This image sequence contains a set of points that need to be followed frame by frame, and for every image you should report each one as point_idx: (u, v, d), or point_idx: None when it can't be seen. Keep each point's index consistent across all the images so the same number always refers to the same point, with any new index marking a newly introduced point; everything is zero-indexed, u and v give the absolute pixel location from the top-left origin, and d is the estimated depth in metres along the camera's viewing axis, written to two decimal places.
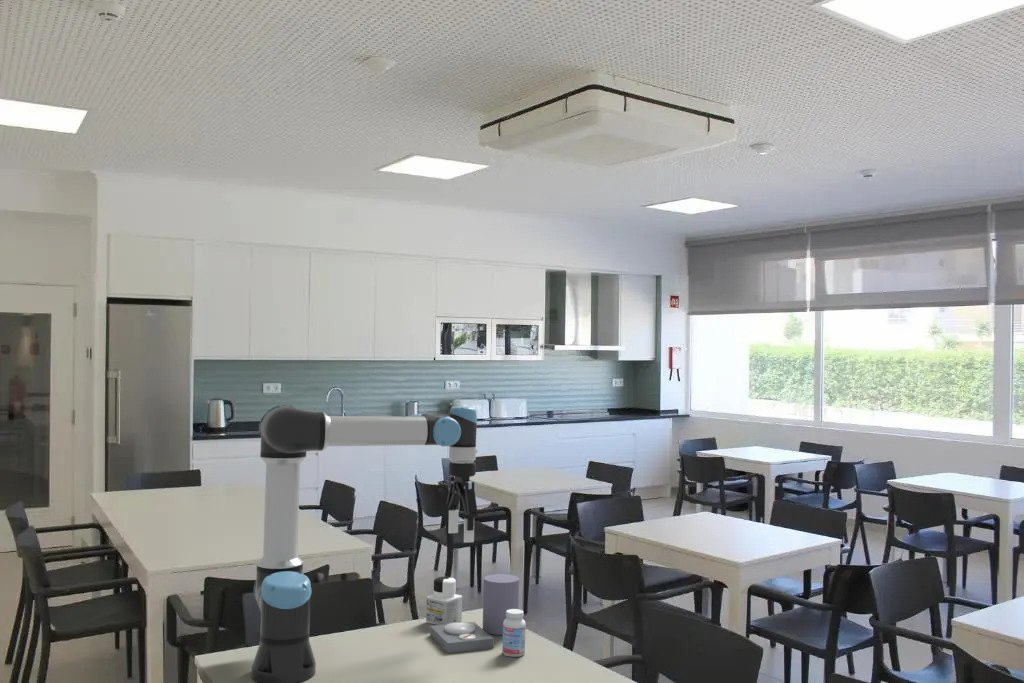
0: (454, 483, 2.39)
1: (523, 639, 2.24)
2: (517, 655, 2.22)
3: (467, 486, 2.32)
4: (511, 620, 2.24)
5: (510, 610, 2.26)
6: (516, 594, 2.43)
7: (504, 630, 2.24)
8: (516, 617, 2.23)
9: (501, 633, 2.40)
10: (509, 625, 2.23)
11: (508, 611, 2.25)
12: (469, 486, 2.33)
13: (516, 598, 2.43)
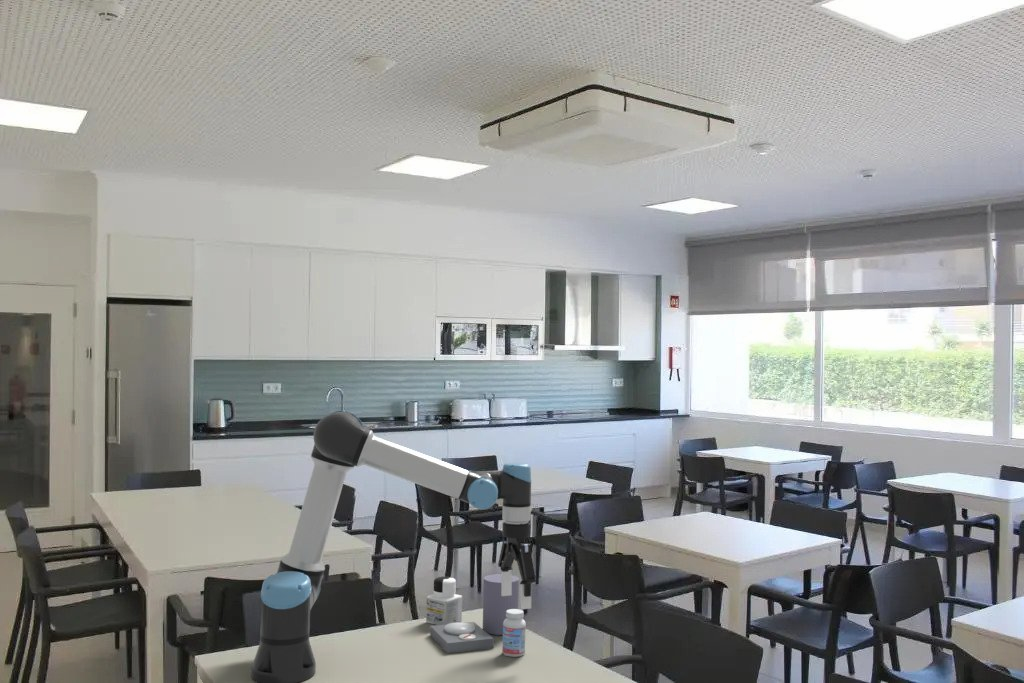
0: (508, 544, 2.26)
1: (523, 639, 2.24)
2: (517, 655, 2.22)
3: (523, 549, 2.20)
4: (511, 620, 2.24)
5: (510, 610, 2.26)
6: (516, 594, 2.43)
7: (504, 630, 2.24)
8: (516, 617, 2.23)
9: (501, 633, 2.40)
10: (509, 625, 2.23)
11: (508, 611, 2.25)
12: (525, 549, 2.20)
13: (516, 598, 2.43)
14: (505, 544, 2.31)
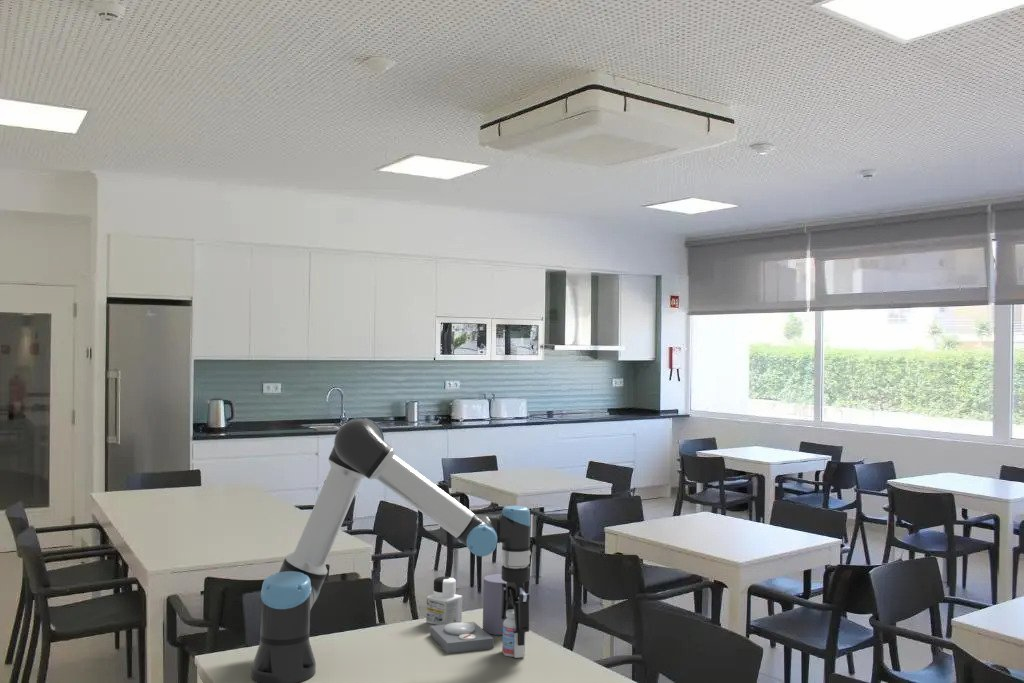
0: (507, 587, 2.26)
1: None
2: None
3: (522, 599, 2.20)
4: (511, 620, 2.24)
5: (510, 610, 2.26)
6: None
7: (504, 630, 2.24)
8: None
9: (501, 633, 2.40)
10: (510, 625, 2.23)
11: (508, 611, 2.25)
12: (524, 599, 2.20)
13: None
14: (505, 591, 2.30)
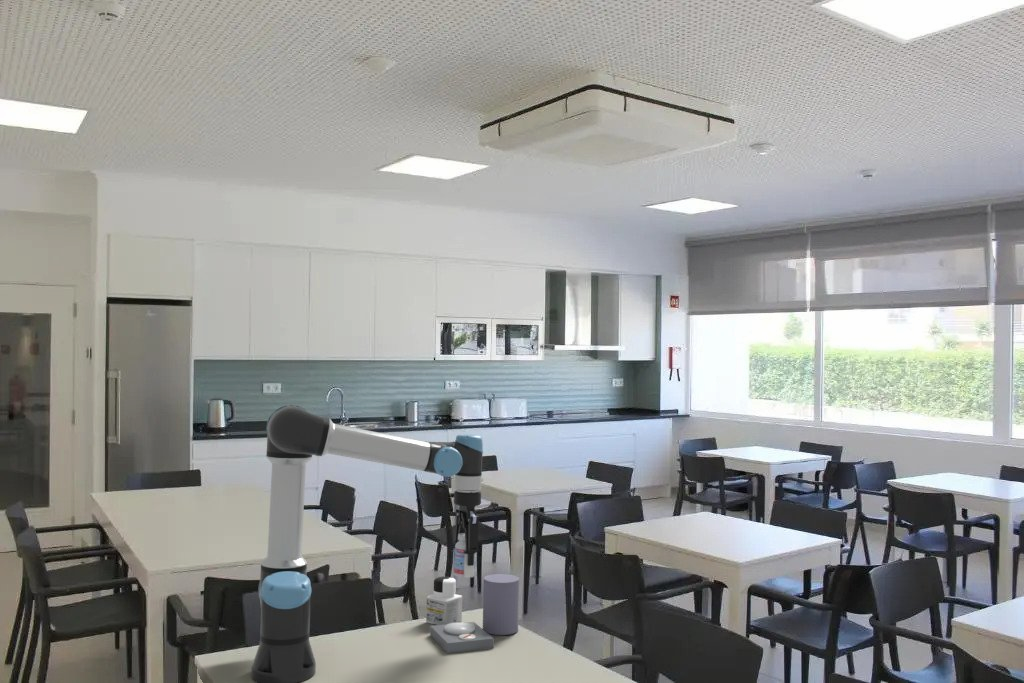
0: (459, 511, 2.36)
1: None
2: None
3: (471, 521, 2.30)
4: (462, 542, 2.34)
5: (462, 533, 2.36)
6: (516, 594, 2.43)
7: (456, 552, 2.34)
8: None
9: (501, 633, 2.40)
10: (460, 547, 2.33)
11: (460, 534, 2.35)
12: (473, 521, 2.30)
13: (516, 598, 2.43)
14: (458, 516, 2.40)
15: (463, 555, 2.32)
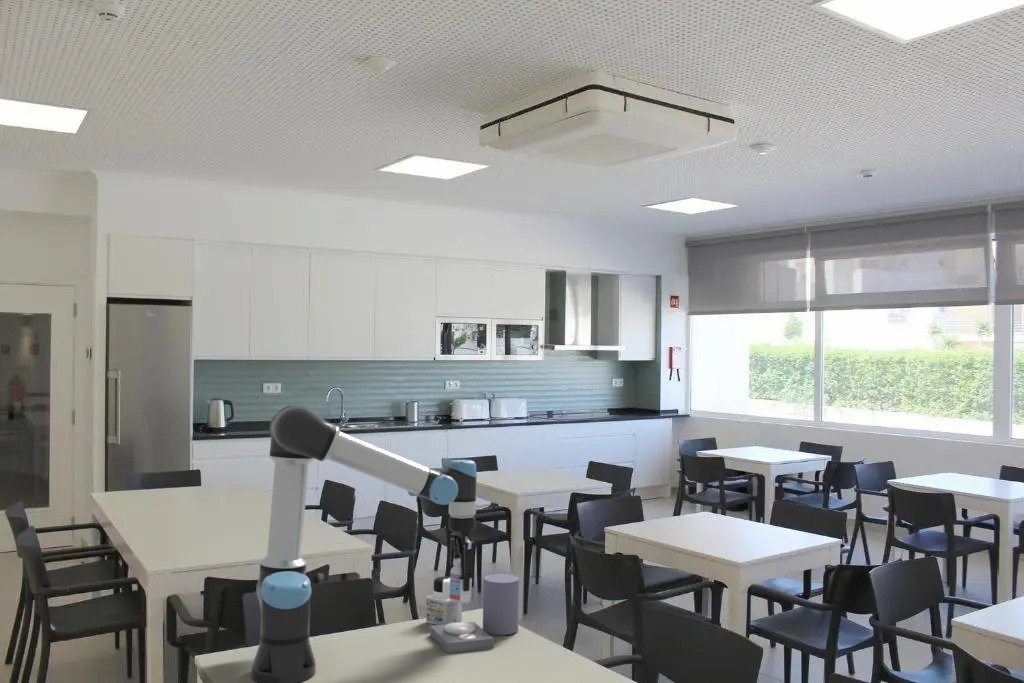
0: (454, 537, 2.37)
1: None
2: None
3: (466, 547, 2.30)
4: (458, 567, 2.35)
5: (457, 558, 2.37)
6: (516, 594, 2.43)
7: (451, 577, 2.35)
8: None
9: (501, 633, 2.40)
10: (456, 572, 2.34)
11: (455, 559, 2.36)
12: (468, 547, 2.31)
13: (516, 598, 2.43)
14: (453, 541, 2.41)
15: (459, 580, 2.33)
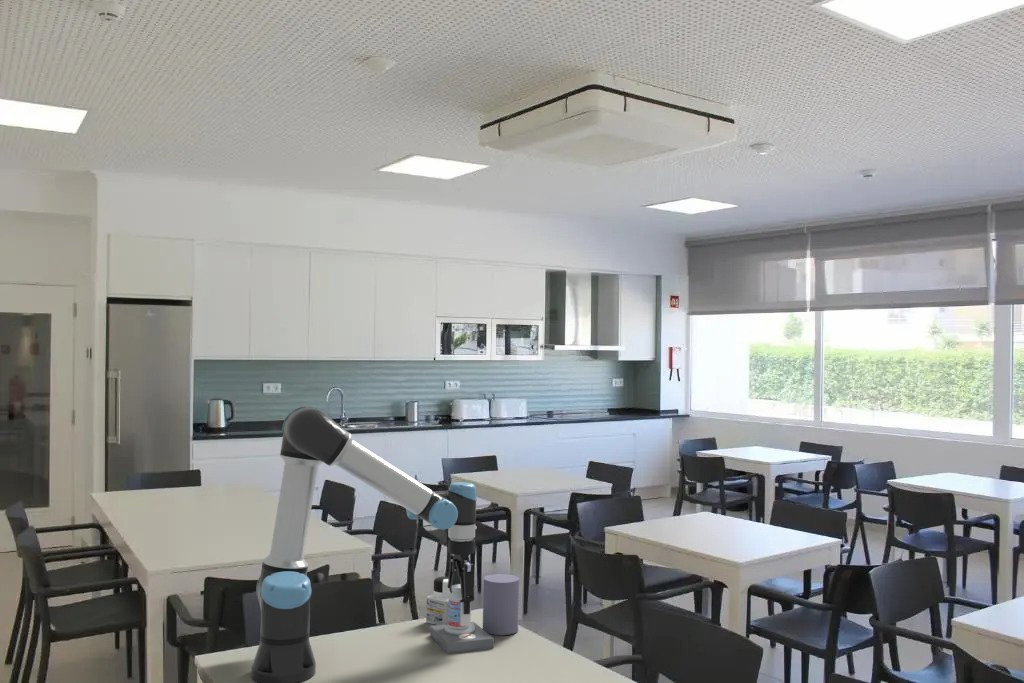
0: (453, 560, 2.37)
1: None
2: (462, 627, 2.33)
3: (466, 569, 2.30)
4: (456, 594, 2.34)
5: (455, 585, 2.37)
6: (516, 594, 2.43)
7: (450, 604, 2.34)
8: (460, 591, 2.34)
9: (501, 633, 2.40)
10: (454, 599, 2.34)
11: (454, 586, 2.36)
12: (468, 569, 2.30)
13: (516, 598, 2.43)
14: (452, 563, 2.41)
15: (457, 607, 2.33)
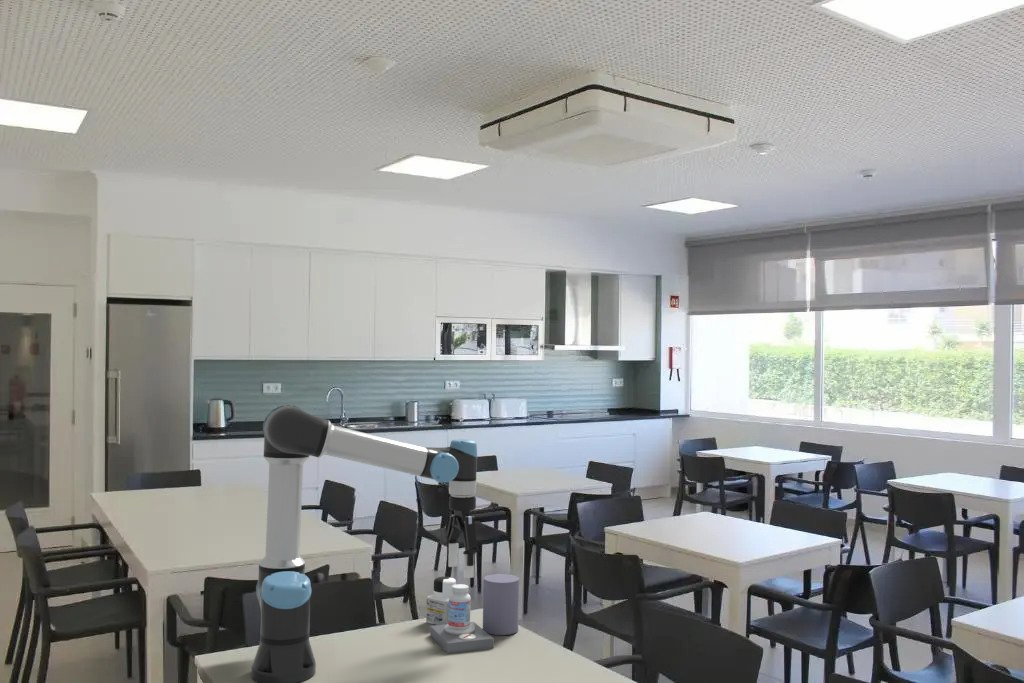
0: (454, 517, 2.37)
1: (468, 612, 2.35)
2: (462, 628, 2.33)
3: (467, 521, 2.30)
4: (456, 594, 2.34)
5: (456, 585, 2.37)
6: (516, 594, 2.43)
7: (450, 604, 2.34)
8: (461, 591, 2.34)
9: (501, 633, 2.40)
10: (455, 599, 2.33)
11: (454, 586, 2.36)
12: (469, 521, 2.31)
13: (516, 598, 2.43)
14: (452, 517, 2.42)
15: (457, 608, 2.33)
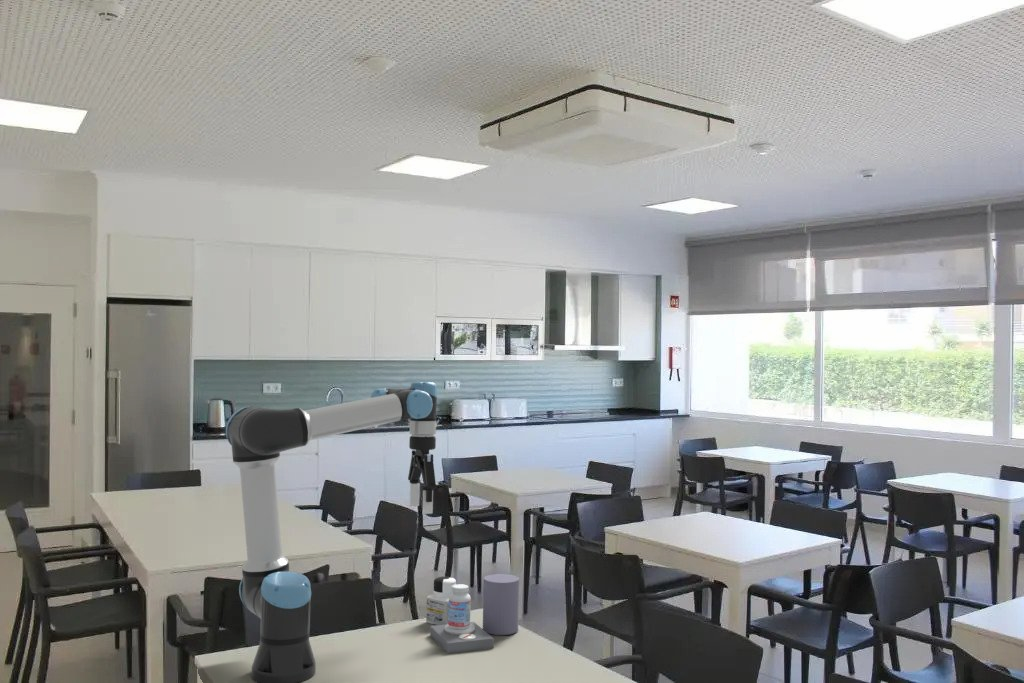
0: (414, 456, 2.44)
1: (468, 612, 2.35)
2: (462, 628, 2.33)
3: (426, 459, 2.37)
4: (456, 594, 2.34)
5: (456, 585, 2.37)
6: (516, 594, 2.43)
7: (450, 604, 2.34)
8: (461, 591, 2.34)
9: (501, 633, 2.40)
10: (455, 599, 2.33)
11: (454, 586, 2.36)
12: (428, 459, 2.37)
13: (516, 598, 2.43)
14: (413, 458, 2.49)
15: (457, 608, 2.33)
